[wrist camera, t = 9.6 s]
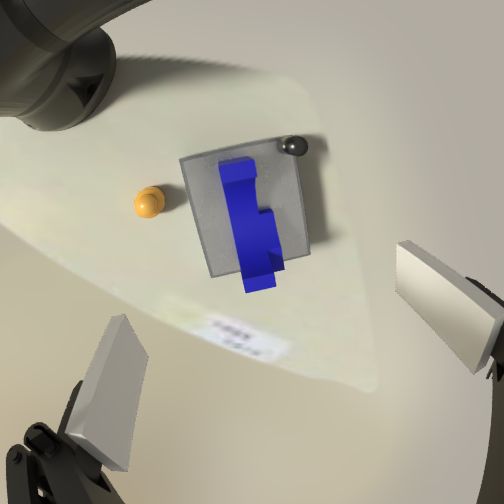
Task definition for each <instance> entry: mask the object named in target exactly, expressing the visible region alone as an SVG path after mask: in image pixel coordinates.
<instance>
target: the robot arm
mask: <svg viewBox="0 0 504 504" xmlns="http://www.w3.org/2000/svg"><path fill="white" fill-rule="evenodd" d="M149 1H151V0H0V117H16V118H18V119H20V120H21V121H23V122H24V123H25V124H26V125H27V126H29V127H31V128H33V129H35V130H38V131H61V130H65V129H68V128H70V127H73V126H74V125H76V124H78V123H79V122H81V121H82V120H84V119H85V118H86V117H87V116H88V115H89V114H90V113H92V112H93V110H94V109H95V108H96V107H97V106H98V105H99V103H100V102H101V100H102V99H103V97H104V96H105V94H106V92H107V90H108V88H109V86H110V84H111V81H112V78H113V75H114V71H115V65H116V52H115V47H114V44H113V42H112V40H111V38H110V37H109V35H108V34H107V33H106V32H105V31H103V30H102V29H101V28H100V26H102V25H103V24H105V23H107V22H109V21H110V20H112V19H114V18H116V17H118V16H120V15H121V14H124V13H126V12H127V11H130V10H131V9H134V8H136V7H138V6H140V5H142V4H144V3H147V2H149ZM396 292H397V293H398V294H399V295H400V296H401V297H402V298H403V299H404V300H405V301H406V302H407V303H408V304H409V305H410V306H411V307H412V308H413V309H414V310H415V311H416V312H417V313H418V314H419V315H420V317H421V318H422V319H423V320H424V321H425V322H426V323H427V324H428V325H429V326H430V327H431V328H432V329H433V330H434V331H435V332H436V333H437V334H438V336H439V337H440V338H441V339H442V340H443V341H444V342H445V343H446V344H447V345H448V346H449V347H450V349H451V350H452V351H453V352H454V353H455V354H456V355H457V357H458V358H459V359H460V360H461V361H462V362H463V363H464V364H465V366H466V367H467V368H468V369H469V370H470V371H471V373H472V374H475V373H476V372H478V371H479V370H481V369H482V368H484V367H485V366H486V364H487V362H488V359H489V357H490V355H491V356H492V357H493V358H494V361H493V363H492V366H491V368H490V370H489V372H488V374H487V377H486V379H489V377H490V375H491V373H493V376H492V379H493V396H492V399H493V400H492V417H491V429H490V439H489V446H488V453H487V459H486V465H485V470H484V475H483V480H482V484H481V488H480V492H479V496H478V500H477V503H476V504H504V301H503V300H501V299H500V298H499V297H497V296H496V295H495V294H494V293H491V291H490V290H488V289H487V288H485V287H484V286H483V285H482V284H481V283H479V282H478V281H476V280H474V279H471V278H468V277H465V278H464V277H463V276H461V275H460V274H459V273H457V272H456V271H455V270H453V269H452V268H450V267H449V266H448V265H446V264H445V263H443V262H442V261H440V260H439V259H437V258H436V257H434V256H433V255H431V254H430V253H428V252H427V251H425V250H424V249H422V248H421V247H419V246H418V245H416V244H414V243H413V242H412V241H410V240H407V241H403V242H400V243H397V267H396ZM147 361H148V355H147V353H146V351H145V350H144V348H143V346H142V345H141V343H140V341H139V339H138V338H137V336H136V334H135V332H134V330H133V328H132V326H131V325H130V323H129V321H128V319H127V317H126V315H125V314H122V315H118V316H113V317H111V319H110V321H109V324H108V326H107V328H106V330H105V332H104V334H103V336H102V338H101V341H100V343H99V345H98V348H97V350H96V352H95V354H94V356H93V359H92V361H91V364H90V366H89V368H88V371H87V373H86V376H85V378H84V380H82V381H79V383H78V384H77V385H76V386H75V388H74V389H73V391H72V394H71V396H70V401H68V404H67V409H65V412H64V415H63V417H62V420H61V423H60V426H59V429H58V432H57V434H56V433H54V432H53V431H52V430H51V429H50V428H49V427H48V426H47V425H46V424H44V423H42V422H37V423H35V424H33V425H31V427H29V428H28V430H27V431H26V433H25V436H24V445H26V446H27V447H28V448H29V449H30V450H31V451H28V450H27V449H26V448H25V447H24V446H22V445H20V444H16V445H14V446H12V447H11V448H10V449H9V451H8V453H7V457H6V480H7V496H8V504H125V503H124V502H123V501H122V499H121V498H120V496H119V495H118V494H117V492H116V490H115V489H114V487H113V486H112V484H111V483H110V481H109V479H108V478H107V476H106V475H105V474H104V473H103V471H101V467H102V464H103V465H104V466H105V467H107V468H108V469H110V470H111V471H122V472H128V464H129V457H130V451H131V444H132V438H133V432H134V425H135V420H136V415H137V409H138V404H139V399H140V394H141V389H142V384H143V380H144V375H145V370H146V366H147ZM38 489H40V490H41V491H43V497H42V496H40V495H39V494H38Z"/></svg>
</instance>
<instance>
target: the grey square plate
mask: <svg viewBox="0 0 504 504" xmlns="http://www.w3.org/2000/svg"><path fill="white" fill-rule="evenodd" d="M307 150H308V143H307V141H306V140H305V139H304V138H302V137H299V136H297V137H292V135H285V136H279V137H273V138H267V139H262V140H256V141H251V142H246V143H241V144H237V145H232V146H227V147H223V148H219V149H214V150H210V151H206V152H202V153H198V154H194V155H190V156H186V157H183V158H180V159H179V162H180V166H181V170H182V174H183V178H184V182H185V186H186V190H187V193H188V197H189V201H190V205H191V209H192V212H193V216H194V220H195V223H196V227H197V231H198V234H199V238H200V241H201V245H202V248H203V252H204V255H205V259H206V262H207V266H208V269H209V272H210V276H211V278H215V277H219V276H224V275H228V274H232V273H237V272H241V269H240V265H239V260H238V255H237V250H236V245H235V241H234V236H233V231H232V226H231V222H230V217H229V212H228V208H227V203H226V199H225V194H224V190H223V186H222V183H221V178H220V173H219V168H218V162H219V161H224V160H229V159H234V158H239V157H244V156H248V157H250V158H253V159H254V160H255V166H256V171H257V177H256V179H255V188H256V197H257V204H258V211H260V210H265V209H270V208H271V209H272V210H273V212H274V217H275V223H276V227H277V232H278V236H279V240H280V244H281V248H282V255H283V261H287V260H291V259H296V258H300V257H304V256H308V255H311V253H310V245H309V238H308V230H307V223H306V216H305V209H304V203H303V196H302V190H301V184H300V178H299V172H298V166H297V160H296V156H303V155H304V154H305V153H306V152H307Z"/></svg>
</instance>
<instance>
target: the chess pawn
mask: <svg viewBox="0 0 504 504" xmlns="http://www.w3.org/2000/svg"><path fill="white" fill-rule="evenodd" d="M134 205H135V211H136V213H137V214H138V215H139V216H140V217H143V218H153V217H155V216H157V215H158V214H159V213H160V212H161V210H162V209H163V208H164V206H165V195H164V193H163V192H162V191H161V190H160V189H159V188H157V187H147V188H145V189H144V190H142V191H141V192H139V193H138V194H137V196H136V198H135V202H134Z"/></svg>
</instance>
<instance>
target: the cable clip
mask: <svg viewBox="0 0 504 504" xmlns="http://www.w3.org/2000/svg"><path fill="white" fill-rule="evenodd" d="M218 168H219V173H220V178H221V183H222V186H223V190H224V194H225V199H226V203H227V208H228V212H229V217H230V222H231V226H232V231H233V236H234V241H235V245H236V250H237V255H238V260H239V265H240V269H241V274H242V280H243V284H244V288H245V293H249V292H254V291H259V290H263V289H268V288H272V287H276V281H275V275H274V272H277V271H281V270H285V268H284V261H283V255H282V248H281V244H280V240H279V236H278V232H277V227H276V223H275V217H274V212H273V210H272V209H271V208H270V209H265V210H260V211H258V204H257V197H256V188H255V179H256V177H257V171H256V166H255V160H254V159H253V158H250V157H248V156H244V157H239V158H234V159H229V160H224V161H219V162H218Z"/></svg>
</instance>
